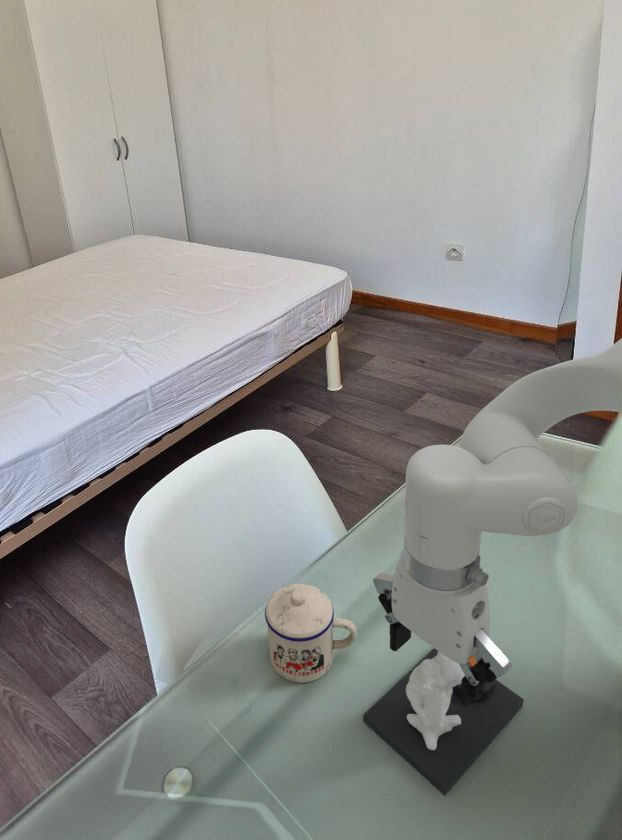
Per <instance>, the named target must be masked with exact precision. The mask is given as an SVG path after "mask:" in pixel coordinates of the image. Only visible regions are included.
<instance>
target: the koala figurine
mask: <svg viewBox="0 0 622 840" xmlns="http://www.w3.org/2000/svg"><path fill="white" fill-rule="evenodd" d="M464 676H465V674H464V672H463V671H462V669H461V667H460V665H459V663H456V662H454V661H452V660H450V659H449V658H447V657H446V656H445V655H443V654H442V653H440V652H439V651H438V654H437V656H435V657H434V658H432V659H425V660H423V661H422V663H421V664H420V665H419V666H418V667H416V668H415V669H414V670H413V672H412V673H411V675H410V678H409V679H410V681H409V682H408V684H407V686H406V694H407V697H408V699H409V701H410V702H411V705H412V707H413V709H414V711H415V712H416V713H417V714H418V715H417V714H408V715H407V720H408V722H409V723H410V724H411V725H412V726H414V727H415V728H417V730H418V731H419V732H421V733H422V735H423V738H424V740H425V743H426V746H427V748H428V749H430V750H435V749H436V747H437V740H438V737H439V736H440V735H442V734H444V733H445V732H448V731H451V730H452V727H454V726H457V725H460V724H461V718H460V717H459V715H449V716H445V715H446V712H447V710H448V707H449V705H450V698H451V695H452V691H453V689H452V687H455V686H456V685H458V684H461V681H462V678H463V677H464Z"/></svg>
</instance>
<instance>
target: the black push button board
mask: <svg viewBox="0 0 622 840" xmlns="http://www.w3.org/2000/svg"><path fill="white" fill-rule="evenodd" d="M437 654H438V650H436V649H435V648H433V649H432V650H431V651H429V652H428V654H426V655H425V656H424V657H423V658H422V659H421V660H420V661H418V663H417V664H416V665H415V666H413V667H412V669H410V670H409V671H408V672H407V673H406V674H405V675H404V676H403V677H402V678H401V679H399V680H398V682H397V683H395V684H394V685H393V686H392V687H391V688H390V689H389V690H388V691H387V692H386V693H385V694H383V695H382V697H381V698H380V699H378V700H377V701H376V702H375V703H374V704H373V705H372V706H371V707H370V708H369V709H368V710H367V711H366V712H365V713H363V716H362V717H363V720H362V721H363V723H364V724H365V725H366V726H367V727H368V728H369V729H371V730H372V731H373V732H374V733H375V734H376V735H377V736H378V737H380V738H381V739H382V740H383V742H385V743H386V744H387V745H388V746H389V747H390V748H391V749H392V750H394V752H395V753H397V754H398V755H399V756H400V757H401V758H402V759H403V760H404V761H406V762H407V763H408V764H409V765H410V766H411V767H412V768H414V769H415V771H417V772H418V773H419V774H420V775H421V776H422V778H424V779H425V780H427V782H429V784H431V785H432V786H433V787H434V788H435V789H437V791H439V792H440V793H441V794H442V796H447V794H448V793H449V791H450V790H452V788H453V787H454V786H455V785H456V784H457V782H458V781H459V780H461V778H462V777H463V776H464V774H465V773H466V772H467V771H468V770H469V769H470V768H471V766H473V764H474V763H475V762H476V761H477V760H478V759H479V757H480V756H481V755H482V754H483V752H485V750H486V749H487V748H488V747H489V746H490V744H491V743H492V742H493V741H494V740H495V739H496V738H497V737H498V735H499V734H500V733H501V732H502V731H503V730H504V729H505V728H506V726H507V725H508V724H509V723H510V721H511V720H513V718H514V717H515V716H516V714H518V713H519V711H520V710H521V709H522V708H523V706H524V698H523V697H521V696H519V695H518V694H517V693H516V692H514V691H513V690H511V689H510V688H509V687H507V686H506V685H504V684H503V683H502V682H500V681H499V680H497V679H495V680H494V681H493V682H485V684H484V692H483V694H482V696H481V697H480V698H479V699H478V700H477V701H475V700H474V699H473V700H472V701H471V702H470V703H469V704H468V705H467V706H466V707H465V706H463V705H462V704H461V702H460V692H461V684H458V685H456V686H455V687H452V689H453V691H452V695H451V698H450V705H449V707H448V710H447V712H446V715H445V716H449V715H459V717H460V718H461V724H460V725H457V726H454V727H452V730H451V731H448V732H445V733H444V734H442V735H440V736H439V737H438V740H437V747H436V749H435V750H430V749H428V748H427V746H426V743H425V740H424V738H423V735H422V733H421V732H419V731H418V730H417V728H415V727H414V726H412V725H411V724H410V723H409V722H408V720H407V715H408V714H417V713H416V712H415V711H414V709H413V707H412V705H411V702H410V701H409V699H408V697H407V694H406V686H407V684H408V682H409V681H410V679H409V678H410V675H411V673H412V672H413V670H414V669H415V668H416V667H418V666H419V665H420V664H421V663H422V661H423V660H425V659H432V658H434V657H435V656H437ZM417 715H418V714H417Z"/></svg>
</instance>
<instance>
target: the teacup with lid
mask: <svg viewBox="0 0 622 840" xmlns="http://www.w3.org/2000/svg"><path fill="white" fill-rule="evenodd" d="M264 618H265V622H266V624H267V635H268V647H269V648H268V649H269V659H270V663H271V666H272V667H273V669H274V671H275V672H276V673H277V674H278V675H279V676H280V677H282V678H283V679H285V680H287V681H290V682H294V683H299V684H302V683H306V684H307V683H310V682H314V681H317V680H318V679H320V678H322V677H323V676H324V675H326V673H328V671H329V670H330V668H331V666H332V664H333V660H334V650H343V649H344V650H345V649H347V648H350V647H351V646H352V645H353V644H354V643H355V641H356V638H357V628H356V625H355V624H354V623H353V622H352V621H351V620H348V619H347V618H342V617H335V610H334V606H333V603H332V602H331V600H330V598H329V597H328V596H327V595H326V593H325V592H324V591H323V590H321V589H320V588H318V587H315V586H314V585H310V584H306V583H292V584H288V585H285V586H282V587H280V588H278V589H277V590H276V591H275V592H273V594H272V595H271V596H270V597H269V598H268V600H267V602H266V605H265V609H264ZM333 628H341V629H345V630H347V631H349V635H348V636H347V637H345V638H343V639H333V635H334V634H333V633H334V632H333Z"/></svg>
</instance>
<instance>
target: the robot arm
mask: <svg viewBox="0 0 622 840" xmlns="http://www.w3.org/2000/svg"><path fill="white" fill-rule="evenodd" d="M597 411H605V412H606V411H607V412H616V413H622V337H621V338H620V339H618V341H616V342H615V343H614V344H612V345H611V346H610V347H608V348H607V349H605V350H603V351H602V352H599V353H597V354H593V355H588V356H583V357H580V358H579V357H578V358H575V359H571V360H567V361H563V362H559V363H556V364H554V365H551V366H547V367H544V368H541V369H539V370H535V371H533V372H531V373H529V374H527V375H524V376H522V377H521V378H519V379H518V380H516V381H515V382H512V384H511V385H509V386H508V387H507V388H505V389H504V390H503V391H502V392H500V393H499V394H498V395H497V396H496V397H495V398H494V399H492V400H491V401H489V403H488V404H486V405H485V406H484V407H483V408H482V409H481V410H480V411H479V412H478V413H477V414H476V415H475V416H474V417H473V418H472V419H471V420H470V422H469V423H468V424H467V426H466V428H465V429H464V431H463V433H462V436H461V439H460V447H459V446H456V445H452V444H434V445H428V446H425V447H422V448H421V449H419V450H417V451H416V452H414V454H413V455H412V456H411V457H410V459H409V460H408V462H407V466H406V469H405V470H406V471H405V496H404V497H405V498H404V525H403V527H404V530H403V549H402V550H401V552H400V554H399V556H398V560H397V563H396V566H395V568H394V569H395V570H394V574H388V573H383V572H380V573H378V574H377V575H375V577H374V578H373V579H372V582H373V584H374V588H375V589H376V592H377V593H378V596H377V599H378V601H379V603H380V605H381V606H382V608H383V610H384V611H385V613H386V614H385V615H384V618H385V620H386V622H387V623H388V624H389V649H390V650H391V651H393V652H397V651H399V650H400V649H401V648H402V647H403V646H404V645H405V644H406V643H407V642H408V641H410V639H411V638H412V633H413V634H414V635H415V636H417V637H418V638H420V639H421V640H423V641H424V642H425V643H426V644H427V645H429V646H431V647H432V648H433V649H434V648H435V649H436V650H438V651H439V652H440V653H442V654H443V655H445V656H446V657H447V658H449V659H450V660H452V661H454V662H456V663H459V665H460V667H461V669H462V671H463V672H464V674H465V676H464V677H463V678H462V681H461V692H460V702H461V704H462V705H463V706H465V707H466V706H467V705H468V704H469V703H470V702H471V701H472V700H473V699H474V700H475V701H477V700H478V699H479V698H480V697H481V696H482V694H483V692H484V684H485V682H493V681H494V680H495V679H496V680H497V679H499V678H501V677H502V676H504V675H505V674H506V673H507V672H508V671H509V670H510V669H511V668H512V662H511V661H510V660H509V658H507V656H506V655H505V654H504V653H503V651H502V650H501V649H500V648H499V647H498V646H497V645H496V644H495V642H493V640H492V639H491V637H490V627H491V625H490V622H491V620H490V619H491V612H490V611H491V609H490V597H489V590H488V584H487V582H488V581H489V575H490V574H488V573H486V572H485V571H484V570H483V568H481V565H480V564H481V556H480V551H481V550H480V549H481V540H482V532H483V533H484V532H485V533H492V534H493V533H494V534H504V535H512V536H523V537H540V536H541V537H543V536H547V535H552V534H555V533H559V532H560V531H562V530H564V529H566V528H567V527H568V526H569V525H571V524H572V523H573V521H574V519H575V518H576V516H577V513H578V511H579V505H580V504H579V503H580V502H579V497H578V492H577V490H576V488H575V486H574V484H573V483H572V481H571V480H570V479H569V478H568V476H567V475H566V473H565V472H564V471H563V470H562V469H561V467H560V466H559V465H558V464H557V462H556V461H555V460H554V459H553V457H552V456H551V455H550V453H548V451H547V450H546V449H545V447H544V446H543V444H541V443H540V441H539V439H538V438H540V437H541V436H542V435H543V434H545V432H547V431H548V430H549V429H551V428H552V427H553V426H555V425H556V424H558V423H559V422H561V421H563V420H565V419H567V418H570V417H572V416H575V415H578V414H582V413H586V412H587V413H588V412H597ZM472 656H474V658H475V660H476V662H477V663H476V664H475V665H474V666H473V667H472V665H471V663H470V662H469V659H470V658H471V657H472Z"/></svg>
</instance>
